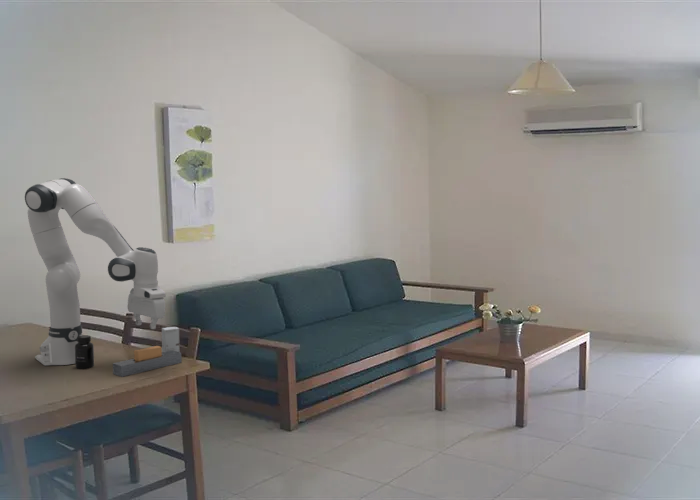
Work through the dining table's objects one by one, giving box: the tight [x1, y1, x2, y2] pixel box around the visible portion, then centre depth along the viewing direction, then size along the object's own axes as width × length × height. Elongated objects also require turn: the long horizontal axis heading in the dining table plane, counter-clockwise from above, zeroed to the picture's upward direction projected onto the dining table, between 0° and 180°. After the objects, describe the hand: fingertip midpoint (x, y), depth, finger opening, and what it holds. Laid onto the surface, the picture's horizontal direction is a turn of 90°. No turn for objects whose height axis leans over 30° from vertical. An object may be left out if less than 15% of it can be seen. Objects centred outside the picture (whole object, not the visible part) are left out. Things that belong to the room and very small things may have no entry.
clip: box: [133, 345, 162, 362], centre depth 272 cm, size 3×10×7 cm, turn 138°
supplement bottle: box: [74, 334, 95, 370], centre depth 274 cm, size 7×7×12 cm
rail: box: [112, 350, 183, 378], centre depth 272 cm, size 6×26×4 cm, turn 138°
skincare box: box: [161, 326, 180, 352], centre depth 287 cm, size 6×4×12 cm
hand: (145, 326), depth 271 cm, fingers open, 8 cm apart
